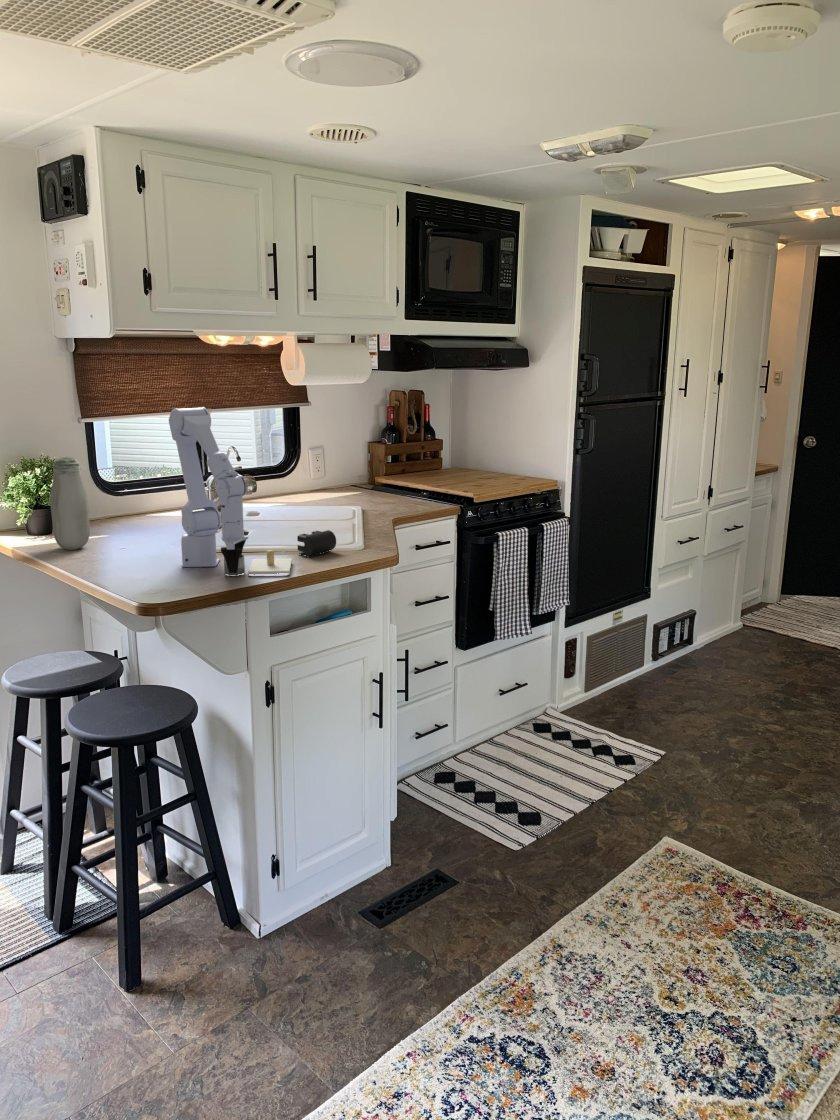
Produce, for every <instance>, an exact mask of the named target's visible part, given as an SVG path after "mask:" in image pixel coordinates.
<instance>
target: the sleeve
mask: <svg viewBox="0 0 840 1120" xmlns="http://www.w3.org/2000/svg"><path fill="white" fill-rule="evenodd" d="M245 563H246V562H245V555H243V554H242V555H240V557H239V563H238V571H237V573H229V571H228V568H227V564H226V560H225V558H224V557H223V569H224V575H225V574H228V575H238V574H242V573H244V572H245V573H246V568H245V567H246V565H245Z"/></svg>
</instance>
